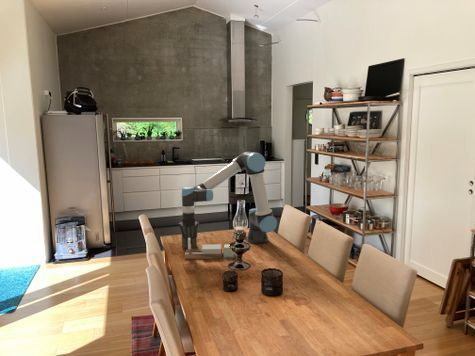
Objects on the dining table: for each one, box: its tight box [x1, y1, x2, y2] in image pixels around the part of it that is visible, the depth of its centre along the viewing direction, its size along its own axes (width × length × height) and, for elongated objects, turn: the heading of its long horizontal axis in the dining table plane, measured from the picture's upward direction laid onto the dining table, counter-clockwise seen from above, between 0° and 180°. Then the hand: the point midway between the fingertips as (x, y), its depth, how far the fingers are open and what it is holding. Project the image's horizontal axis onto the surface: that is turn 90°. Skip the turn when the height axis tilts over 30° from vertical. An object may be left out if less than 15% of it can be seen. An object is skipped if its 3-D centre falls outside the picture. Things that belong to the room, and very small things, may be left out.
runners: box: [184, 248, 223, 260], centre depth 240 cm, size 9×23×3 cm, turn 91°
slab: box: [201, 243, 222, 254], centre depth 240 cm, size 9×12×3 cm
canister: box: [181, 220, 198, 249], centre depth 259 cm, size 11×10×20 cm
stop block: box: [223, 244, 235, 257], centre depth 240 cm, size 6×6×6 cm
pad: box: [222, 252, 237, 259], centre depth 241 cm, size 10×8×1 cm
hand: (189, 248), depth 240 cm, fingers closed
